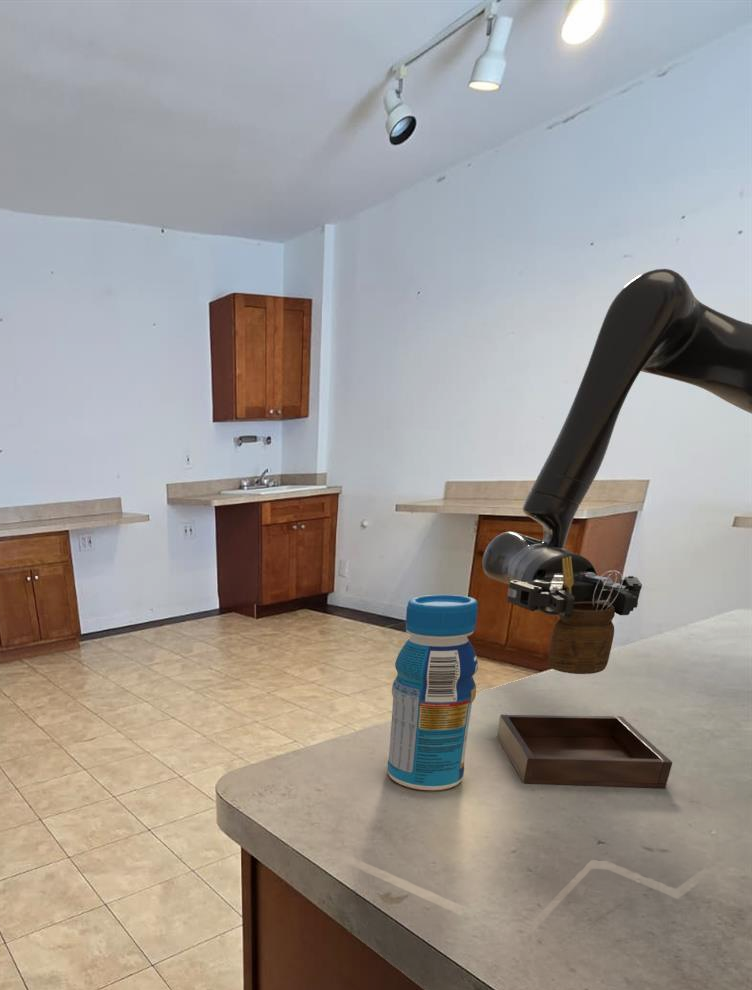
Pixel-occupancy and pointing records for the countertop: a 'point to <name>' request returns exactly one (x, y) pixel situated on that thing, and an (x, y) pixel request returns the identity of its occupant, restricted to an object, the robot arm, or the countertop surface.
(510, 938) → the countertop surface
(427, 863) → the countertop surface
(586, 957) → the countertop surface
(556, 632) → the utensil holder
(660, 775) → the tray box
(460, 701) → the beverage bottle
